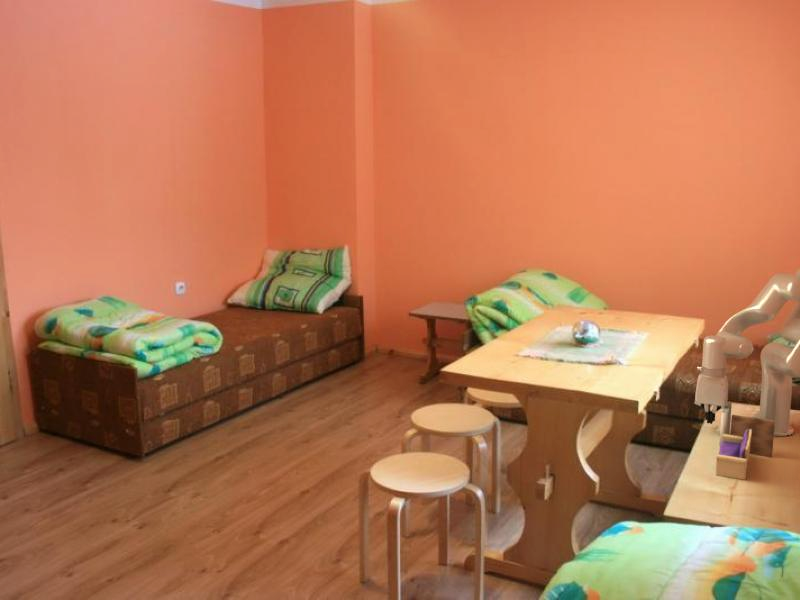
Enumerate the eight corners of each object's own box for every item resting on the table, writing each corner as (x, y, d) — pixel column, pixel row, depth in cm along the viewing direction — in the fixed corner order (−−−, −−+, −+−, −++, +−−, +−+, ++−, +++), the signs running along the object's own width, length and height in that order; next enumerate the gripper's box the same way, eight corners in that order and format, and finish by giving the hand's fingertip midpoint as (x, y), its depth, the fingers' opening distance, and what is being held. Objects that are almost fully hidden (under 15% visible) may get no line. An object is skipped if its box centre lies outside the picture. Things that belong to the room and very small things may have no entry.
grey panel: (719, 445, 241) (721, 414, 239) (724, 431, 254) (726, 401, 252) (725, 446, 240) (727, 415, 238) (730, 432, 253) (732, 402, 251)
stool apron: (729, 450, 237) (731, 416, 235) (730, 449, 238) (732, 414, 236) (771, 457, 231) (774, 422, 229) (772, 455, 232) (774, 420, 230)
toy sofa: (721, 452, 236) (722, 423, 234) (750, 457, 232) (752, 427, 230) (714, 476, 218) (716, 444, 216) (745, 481, 214) (748, 449, 212)
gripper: (688, 371, 247) (685, 422, 250) (736, 377, 240) (732, 429, 243) (691, 366, 253) (688, 415, 257) (738, 371, 246) (734, 422, 249)
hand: (709, 422), depth 250 cm, fingers closed
